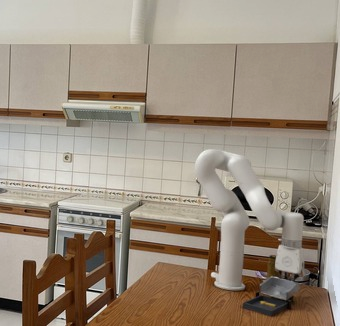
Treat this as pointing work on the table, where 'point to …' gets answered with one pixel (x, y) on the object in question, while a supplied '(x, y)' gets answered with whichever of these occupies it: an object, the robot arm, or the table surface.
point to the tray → (265, 309)
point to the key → (267, 303)
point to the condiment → (272, 268)
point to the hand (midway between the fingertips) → (288, 288)
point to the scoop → (279, 288)
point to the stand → (281, 300)
